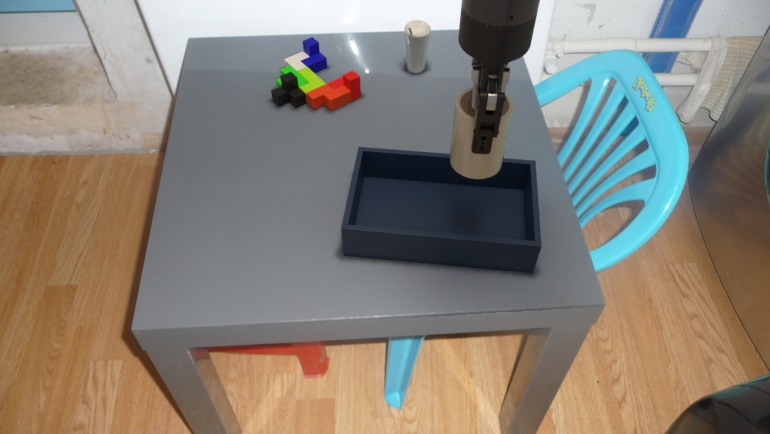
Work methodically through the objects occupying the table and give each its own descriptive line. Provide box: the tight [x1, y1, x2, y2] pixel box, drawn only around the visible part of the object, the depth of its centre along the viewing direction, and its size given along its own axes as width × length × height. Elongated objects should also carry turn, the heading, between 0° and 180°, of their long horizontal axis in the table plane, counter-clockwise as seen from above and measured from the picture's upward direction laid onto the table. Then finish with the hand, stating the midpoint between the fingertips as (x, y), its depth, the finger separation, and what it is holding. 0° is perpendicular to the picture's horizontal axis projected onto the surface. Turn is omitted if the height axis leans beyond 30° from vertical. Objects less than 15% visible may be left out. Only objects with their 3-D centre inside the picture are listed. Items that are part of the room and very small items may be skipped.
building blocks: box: [270, 36, 362, 111], centre depth 102 cm, size 15×13×4 cm
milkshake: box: [403, 19, 432, 74], centre depth 104 cm, size 5×5×10 cm
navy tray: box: [340, 146, 543, 274], centre depth 82 cm, size 26×16×6 cm, turn 83°
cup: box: [449, 87, 514, 179], centre depth 71 cm, size 7×7×9 cm
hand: (480, 131), depth 70 cm, fingers closed on cup, 6 cm apart
